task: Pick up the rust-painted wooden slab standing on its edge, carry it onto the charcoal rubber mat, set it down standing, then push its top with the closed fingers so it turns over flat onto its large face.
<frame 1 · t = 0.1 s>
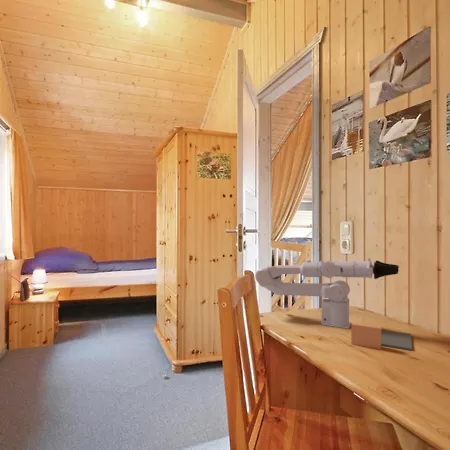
hand: (398, 269, 111), 21 cm above the table, tool horizontal, fingers open, 7 cm apart
slab: (366, 345, 98), on the table
mat: (386, 338, 105), on the table
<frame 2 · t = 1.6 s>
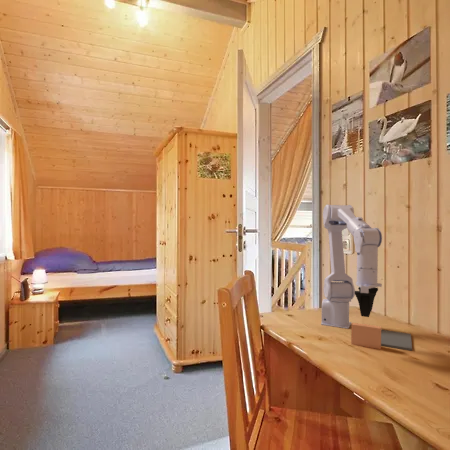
hand: (366, 313, 99), 9 cm above the table, tool pointing down, fingers open, 7 cm apart
nothing on the table moved.
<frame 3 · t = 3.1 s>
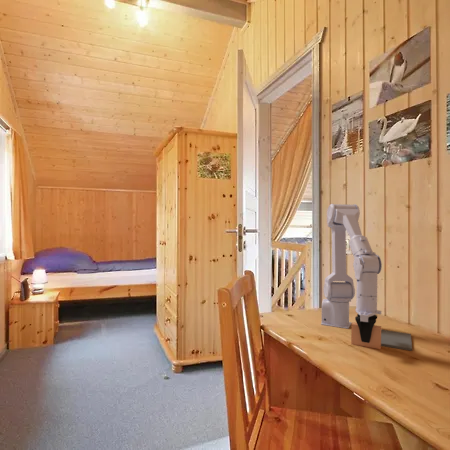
hand: (366, 340, 98), 1 cm above the table, tool pointing down, fingers closed on slab, 2 cm apart
slab: (366, 345, 98), on the table, touching gripper
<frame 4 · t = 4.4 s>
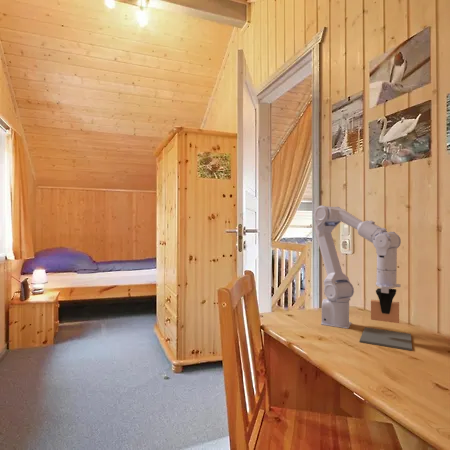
hand: (386, 312, 105), 8 cm above the table, tool pointing down, fingers closed on slab, 2 cm apart
slab: (384, 320, 105), point 6 cm above the table, touching gripper
when the fingers open (3 cm above the table, at t = 5.9 s): slab stays where it is, resting on mat.
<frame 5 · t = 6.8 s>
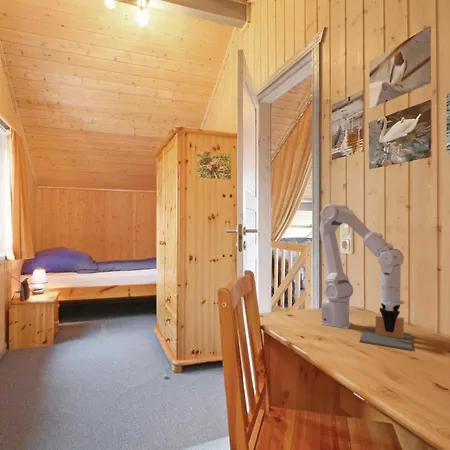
hand: (389, 328, 106), 3 cm above the table, tool pointing down, fingers open, 7 cm apart
slab: (389, 335, 106), point 1 cm above the table, touching mat
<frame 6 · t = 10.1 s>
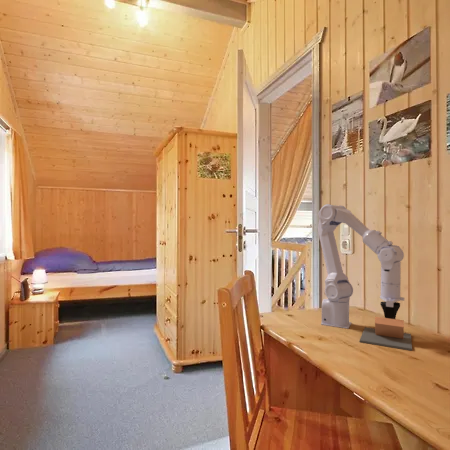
hand: (390, 325, 106), 4 cm above the table, tool pointing down, fingers closed
slab: (389, 333, 106), point 1 cm above the table, tilted 40°, touching mat
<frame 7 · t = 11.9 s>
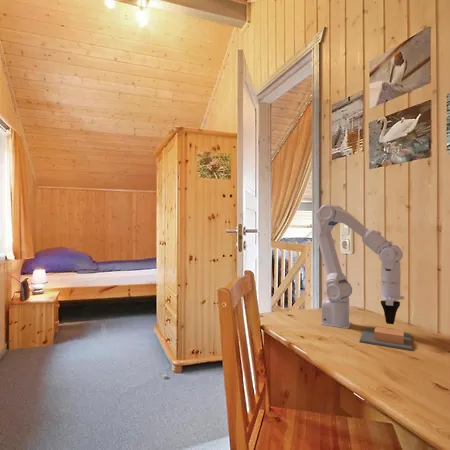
hand: (390, 323, 108), 4 cm above the table, tool pointing down, fingers closed
slab: (389, 332, 105), point 2 cm above the table, tilted 90°, touching mat
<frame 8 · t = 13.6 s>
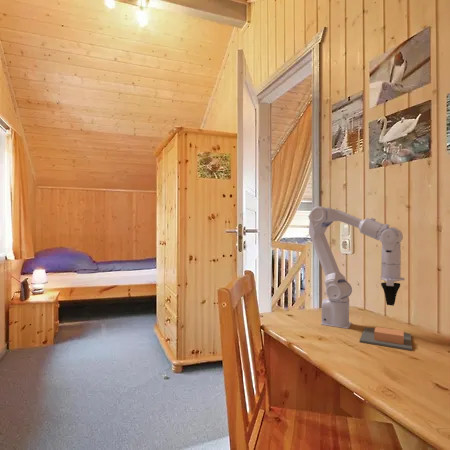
hand: (390, 304, 109), 10 cm above the table, tool pointing down, fingers closed
nothing on the table moved.
at the end: slab tilted 90°; slab inside the target area on the mat (1.1 cm from its centre), point 1.8 cm above the mat's base; the gripper is holding nothing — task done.
